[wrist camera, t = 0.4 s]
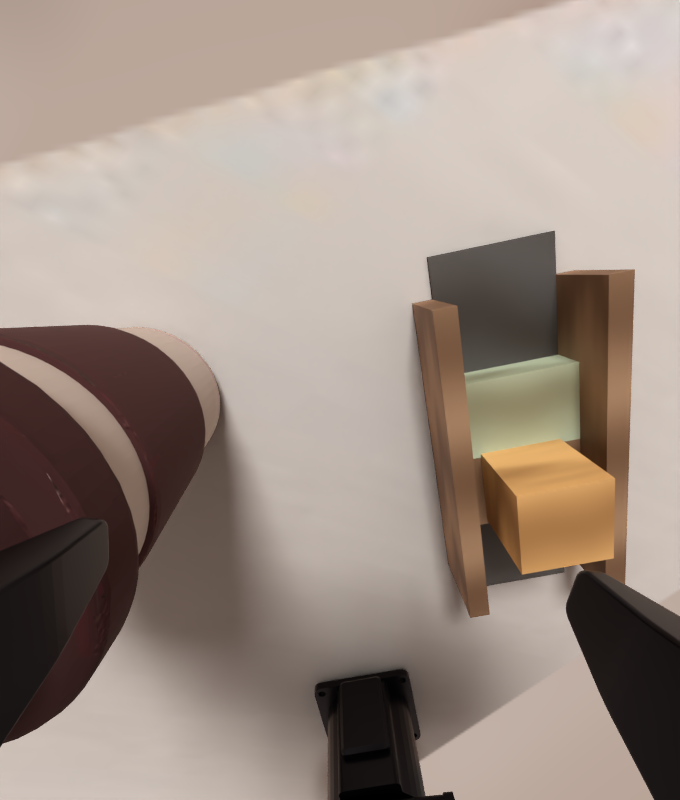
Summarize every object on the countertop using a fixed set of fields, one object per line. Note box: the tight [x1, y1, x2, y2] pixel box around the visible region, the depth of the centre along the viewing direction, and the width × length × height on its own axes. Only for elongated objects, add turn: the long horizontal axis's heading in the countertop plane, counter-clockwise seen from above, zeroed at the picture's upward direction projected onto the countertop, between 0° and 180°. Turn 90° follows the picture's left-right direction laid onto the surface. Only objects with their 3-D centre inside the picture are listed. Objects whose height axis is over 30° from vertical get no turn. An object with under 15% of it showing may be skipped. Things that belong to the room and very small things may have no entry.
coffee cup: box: [0, 325, 220, 743], centre depth 13 cm, size 10×10×15 cm
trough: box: [413, 231, 635, 618], centre depth 20 cm, size 20×8×4 cm, turn 11°
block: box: [481, 439, 615, 575], centre depth 19 cm, size 4×4×4 cm
